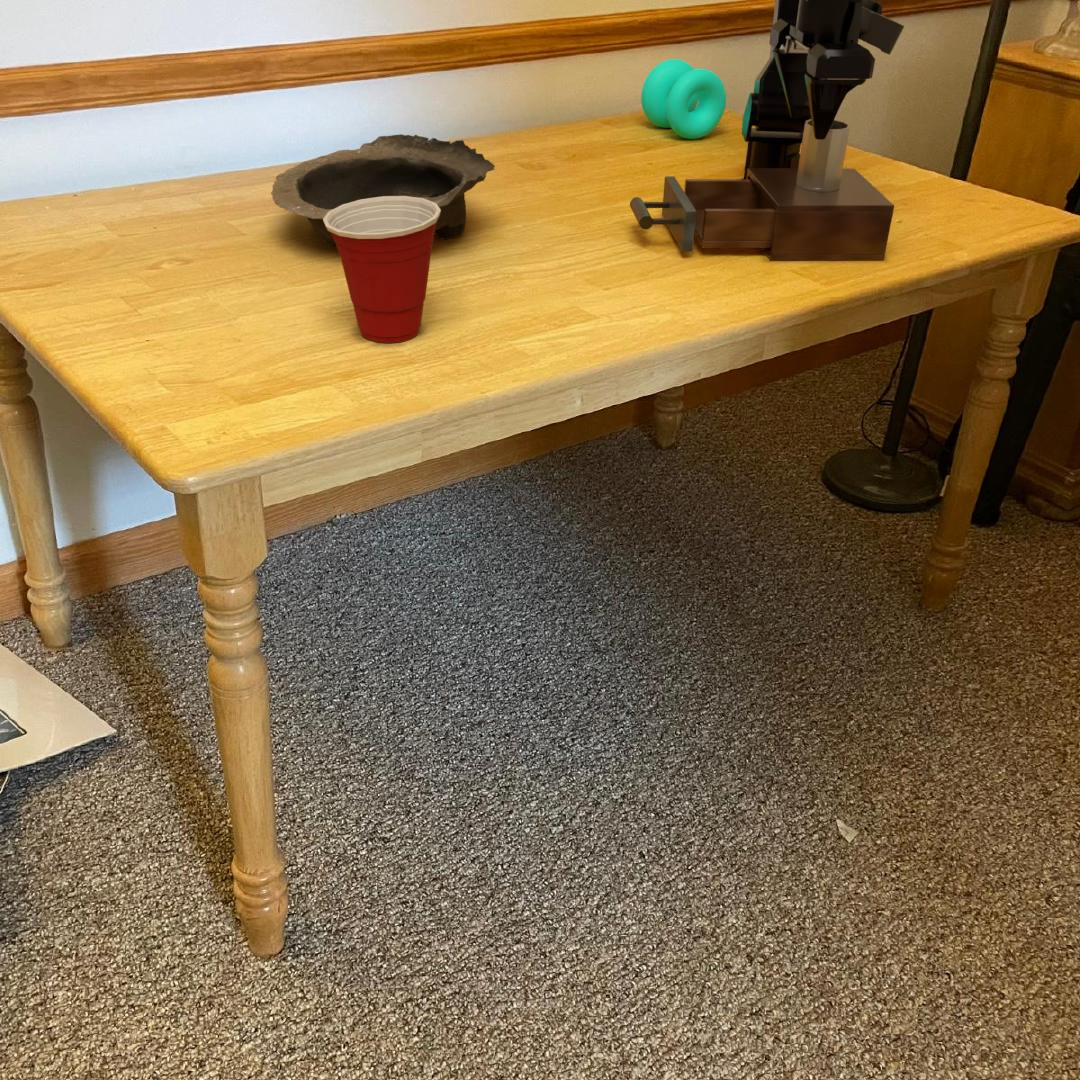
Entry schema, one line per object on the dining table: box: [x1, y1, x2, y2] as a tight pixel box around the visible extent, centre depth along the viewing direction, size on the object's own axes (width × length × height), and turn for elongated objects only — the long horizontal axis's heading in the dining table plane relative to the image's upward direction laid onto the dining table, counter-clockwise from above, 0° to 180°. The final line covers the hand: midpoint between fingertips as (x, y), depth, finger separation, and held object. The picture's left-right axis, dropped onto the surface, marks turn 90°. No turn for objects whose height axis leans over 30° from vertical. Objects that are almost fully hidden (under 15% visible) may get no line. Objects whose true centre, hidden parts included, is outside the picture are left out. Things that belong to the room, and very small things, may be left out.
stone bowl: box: [270, 134, 496, 246], centre depth 136 cm, size 25×25×9 cm
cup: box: [796, 119, 851, 192], centre depth 136 cm, size 5×5×7 cm
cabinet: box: [746, 168, 895, 262], centre depth 139 cm, size 13×14×6 cm
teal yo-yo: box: [640, 58, 727, 140], centre depth 178 cm, size 10×10×10 cm
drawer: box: [629, 175, 776, 253], centre depth 138 cm, size 17×13×5 cm
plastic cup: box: [323, 196, 441, 344], centre depth 112 cm, size 11×11×12 cm
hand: (807, 128), depth 134 cm, fingers open, 9 cm apart
